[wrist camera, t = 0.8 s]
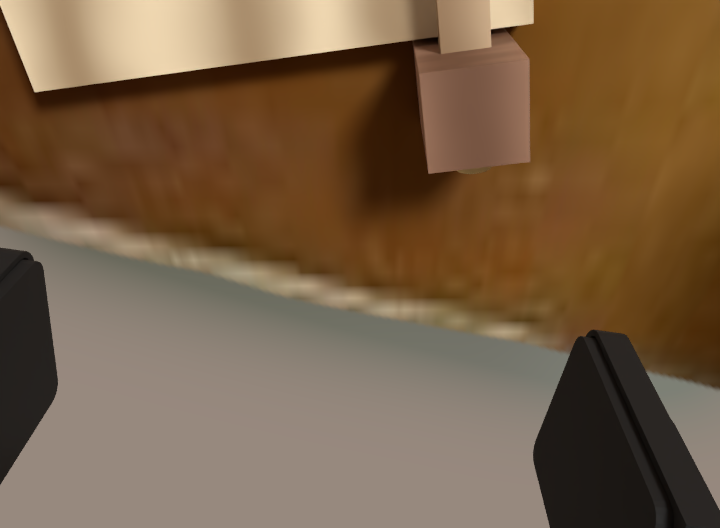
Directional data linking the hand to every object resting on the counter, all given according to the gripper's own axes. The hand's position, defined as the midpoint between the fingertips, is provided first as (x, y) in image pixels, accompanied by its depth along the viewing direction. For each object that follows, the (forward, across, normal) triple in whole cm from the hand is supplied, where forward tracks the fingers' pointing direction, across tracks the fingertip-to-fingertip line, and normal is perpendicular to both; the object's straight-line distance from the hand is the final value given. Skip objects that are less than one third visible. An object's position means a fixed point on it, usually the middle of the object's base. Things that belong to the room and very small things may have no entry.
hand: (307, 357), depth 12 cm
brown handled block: (+21, -4, -5) cm, 22 cm away
